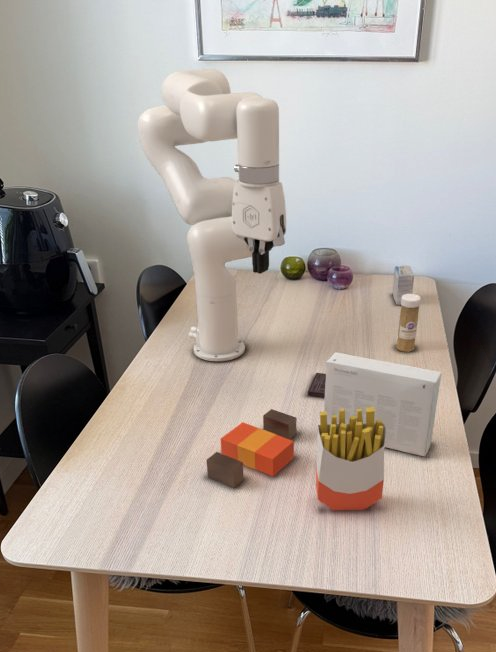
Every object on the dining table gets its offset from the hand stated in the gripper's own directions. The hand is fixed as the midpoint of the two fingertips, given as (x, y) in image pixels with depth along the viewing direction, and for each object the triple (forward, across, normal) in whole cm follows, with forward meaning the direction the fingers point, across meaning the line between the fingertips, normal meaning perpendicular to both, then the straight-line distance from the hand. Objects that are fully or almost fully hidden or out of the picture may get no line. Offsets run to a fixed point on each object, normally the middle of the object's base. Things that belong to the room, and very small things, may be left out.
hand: (260, 270), depth 134 cm
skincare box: (+27, +30, -4) cm, 41 cm away
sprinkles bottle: (+27, +18, +36) cm, 49 cm away
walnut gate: (+27, +13, -22) cm, 37 cm away
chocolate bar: (+27, +17, +10) cm, 34 cm away
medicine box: (+27, +4, +64) cm, 70 cm away
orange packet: (+27, +14, -22) cm, 38 cm away
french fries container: (+27, +35, -25) cm, 51 cm away
